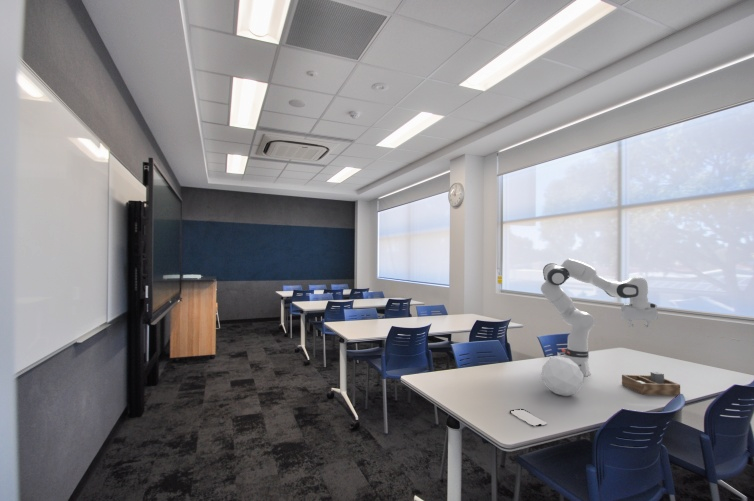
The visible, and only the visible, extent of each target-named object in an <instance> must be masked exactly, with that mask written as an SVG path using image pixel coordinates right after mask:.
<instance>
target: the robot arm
mask: <svg viewBox="0 0 754 501" xmlns="http://www.w3.org/2000/svg"><path fill="white" fill-rule="evenodd" d="M542 274H543V279H544V281H545V282H544V283H542V284H541V285H540V291H541V293H542V294H543V296H544V297H545V299H546V300H547V301H548V302H549V303H550V305H552V306H553V308H555V310H556V311H557V312H558V313H559V315H560V317H561V320H562V321H563V322H564V324H566V325H568V326H571V330H570V332H569V334H568V335H567V348H566V349H565V348H561V352H563V353H564V354H563V355H561V356H562V357H564V358H569V359H571V360H572V361H573V362H574V363H575V364H577V365H578V367H579V368H580V370H581V372H582V373H583V378H585V377H586V378H587V377H589V376H590V375H591V374H592V373H591V370H590V366H589V364H590V363H589V349H588V346H589V344H588V343H589V342H588V341H589V337H590V336H589V335H590V333H591V330H592V329H593V328H594V327H595V325H596V320H595V317H594V316H593V315H592V314H590V313H588V312H586V311H583V310H580V309H578V308H576V306H575V304H574V301H573V299H572V298H571V297H570V296H569V295H568V294H567V292H565V290H563V289H562V287H561V285H564V284H565V282H566V281H567V280H569V278H573V279H575V280H577V281H579V282H582V283H585V284H591V285H593V286H595V287H597V288H599V289H602V290H603V291H604V292H605V293H606V294H607V295H608V296H609V297H612V298H618V299H619V298H620V299H629V303H623V304H622V305H621V306H620V307H621V308H620V318H621V320H626V322H627V324H628V328H634V324H633V323H632V321H645V324H644V325H643V326H644V328H645V329H646V328H648V329H649V328H650V324H651V323H652V321H657V320H658V317H659V315H658V309H657V306H658V305H657V304H655V303H652V302H650V301H649V298H648V294H649V289H648V288H649V287H648V282H647V280H646V279H645V278H642V277H637V276H633V277H630V278H629V279H627V280H624V281H622V282H621V281H616V280H615V281H613V280H608V279H605V278H603V277H602V276H599V275H598V273H597V269H595V268H594V267H593V266H591V265H589V264H588V263H585V262H583V261H579V260H575V259H571V258H567V259H566V260H564V261H563V262H562V264H561V265H558V264H556V263H547V264H546V265H544V267H543V269H542Z"/></svg>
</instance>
